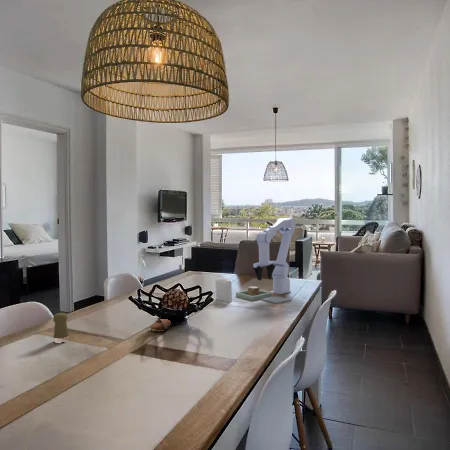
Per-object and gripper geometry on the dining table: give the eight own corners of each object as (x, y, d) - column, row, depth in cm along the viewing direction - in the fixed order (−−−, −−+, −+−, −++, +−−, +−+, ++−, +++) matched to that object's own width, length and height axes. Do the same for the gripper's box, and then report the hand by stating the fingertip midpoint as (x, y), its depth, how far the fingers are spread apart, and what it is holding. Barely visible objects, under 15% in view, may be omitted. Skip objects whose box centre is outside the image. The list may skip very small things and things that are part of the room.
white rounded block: (214, 299, 214) (214, 277, 214) (221, 298, 217) (220, 276, 216) (226, 303, 206) (226, 279, 206) (233, 301, 209) (232, 278, 208)
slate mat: (276, 297, 216) (276, 295, 216) (291, 301, 207) (291, 299, 207) (261, 300, 209) (261, 298, 209) (276, 304, 201) (276, 302, 201)
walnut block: (253, 295, 221) (253, 286, 221) (259, 296, 217) (259, 287, 217) (248, 296, 219) (247, 287, 219) (254, 297, 215) (253, 288, 215)
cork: (73, 339, 156) (71, 311, 156) (62, 344, 150) (60, 316, 150) (60, 337, 158) (59, 310, 158) (49, 343, 152) (48, 315, 152)
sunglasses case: (160, 318, 181) (167, 306, 180) (173, 326, 180) (180, 314, 179) (145, 331, 163) (153, 318, 162) (159, 340, 162) (167, 327, 161)
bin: (254, 293, 228) (254, 288, 228) (271, 297, 217) (271, 292, 217) (236, 297, 219) (235, 292, 219) (252, 301, 208) (252, 296, 208)
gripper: (259, 256, 206) (259, 282, 207) (278, 253, 215) (279, 278, 216) (250, 255, 212) (250, 280, 212) (269, 252, 221) (270, 276, 221)
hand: (264, 279), depth 215 cm, fingers open, 7 cm apart
